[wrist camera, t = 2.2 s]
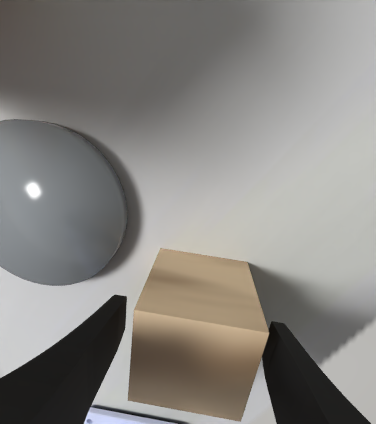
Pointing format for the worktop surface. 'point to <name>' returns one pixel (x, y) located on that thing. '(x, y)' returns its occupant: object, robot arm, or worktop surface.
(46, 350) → the robot arm
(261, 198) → the worktop surface
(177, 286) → the oak cube
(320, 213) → the worktop surface
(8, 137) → the slate coaster
